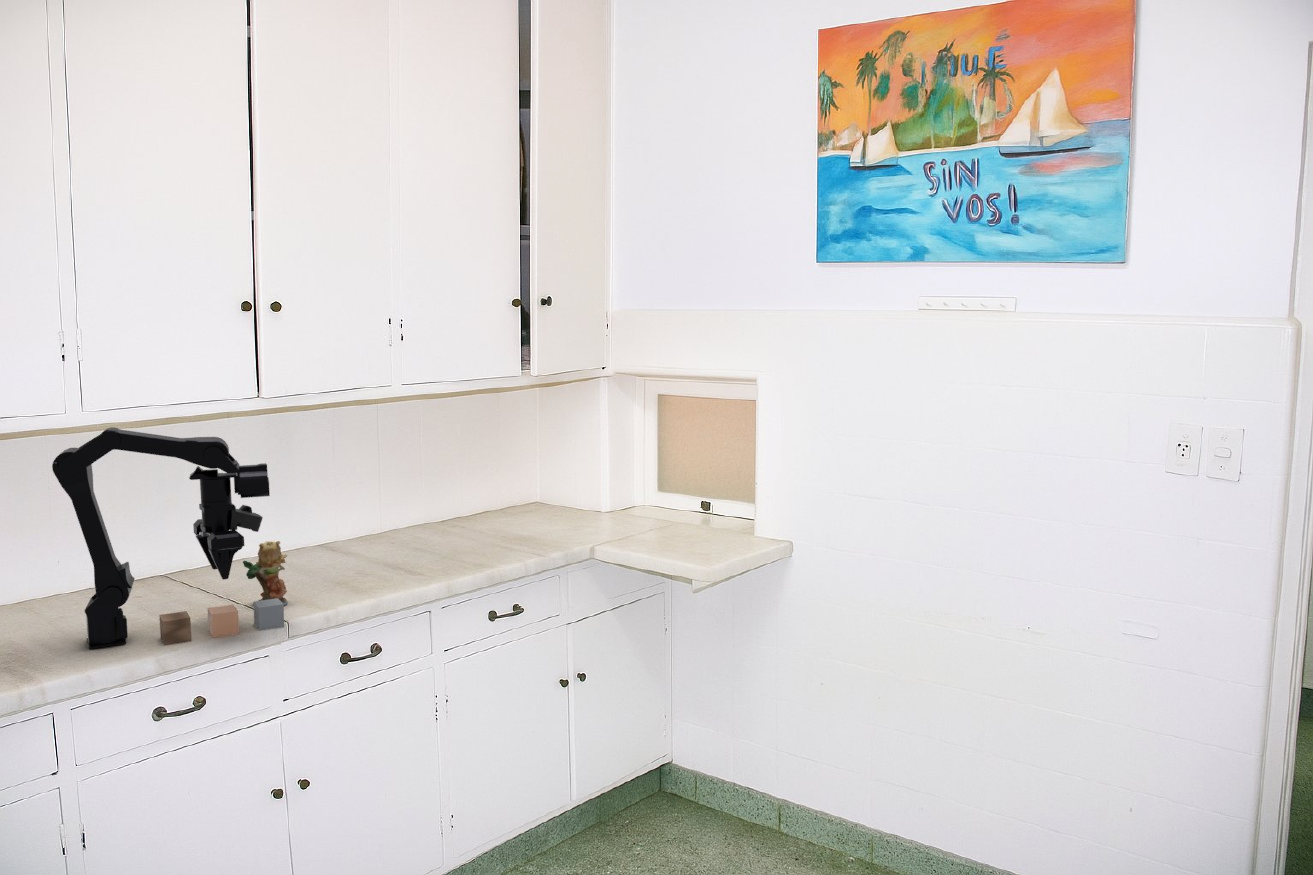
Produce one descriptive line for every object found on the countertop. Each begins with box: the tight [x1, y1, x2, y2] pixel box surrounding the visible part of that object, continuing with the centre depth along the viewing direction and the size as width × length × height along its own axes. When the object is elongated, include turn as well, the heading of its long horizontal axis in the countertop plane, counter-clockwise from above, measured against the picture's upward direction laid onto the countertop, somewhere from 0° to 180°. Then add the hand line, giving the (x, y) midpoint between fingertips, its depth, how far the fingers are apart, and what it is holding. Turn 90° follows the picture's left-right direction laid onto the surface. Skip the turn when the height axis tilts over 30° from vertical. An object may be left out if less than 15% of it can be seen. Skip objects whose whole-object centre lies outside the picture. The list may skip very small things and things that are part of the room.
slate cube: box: [252, 598, 285, 631], centre depth 215 cm, size 5×5×5 cm
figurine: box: [242, 540, 288, 606], centre depth 229 cm, size 9×8×15 cm
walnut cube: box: [158, 610, 192, 646], centre depth 206 cm, size 5×5×5 cm
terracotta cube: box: [206, 604, 240, 639], centre depth 210 cm, size 5×5×5 cm
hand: (220, 573), depth 210 cm, fingers open, 9 cm apart
